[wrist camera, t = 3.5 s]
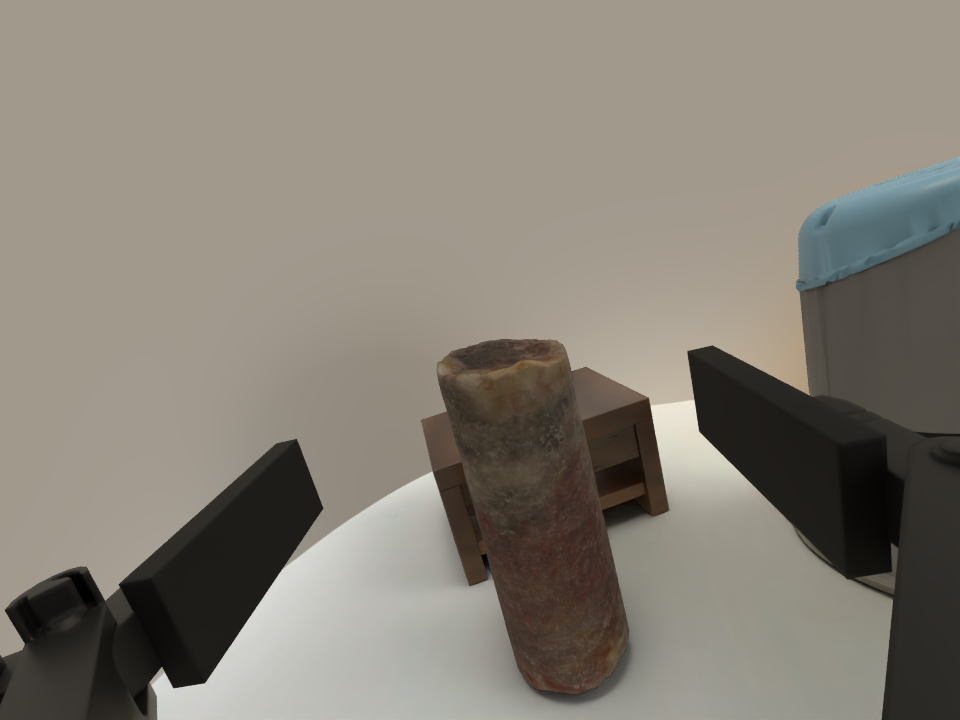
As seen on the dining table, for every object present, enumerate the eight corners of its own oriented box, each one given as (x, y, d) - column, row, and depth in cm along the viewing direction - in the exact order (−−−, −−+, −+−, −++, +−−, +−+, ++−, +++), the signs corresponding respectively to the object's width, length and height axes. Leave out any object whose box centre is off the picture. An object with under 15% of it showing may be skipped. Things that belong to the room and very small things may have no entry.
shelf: (604, 455, 50) (585, 366, 48) (669, 510, 39) (649, 397, 36) (449, 510, 48) (420, 419, 45) (469, 586, 36) (432, 471, 34)
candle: (558, 585, 34) (492, 330, 29) (654, 624, 29) (592, 323, 24) (492, 665, 29) (400, 374, 24) (594, 731, 24) (501, 377, 19)
